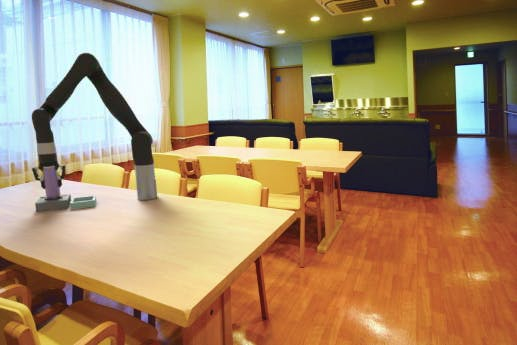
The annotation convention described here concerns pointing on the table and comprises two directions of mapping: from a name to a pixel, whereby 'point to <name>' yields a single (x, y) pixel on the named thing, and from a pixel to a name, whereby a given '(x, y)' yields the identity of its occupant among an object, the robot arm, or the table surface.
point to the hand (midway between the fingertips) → (52, 187)
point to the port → (53, 203)
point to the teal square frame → (83, 202)
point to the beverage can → (51, 182)
